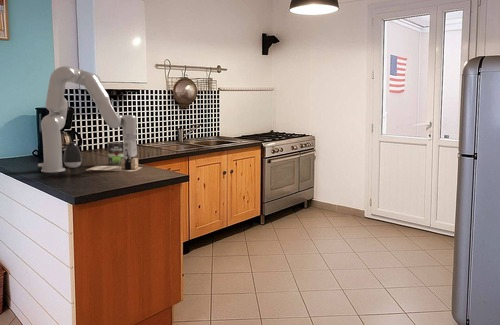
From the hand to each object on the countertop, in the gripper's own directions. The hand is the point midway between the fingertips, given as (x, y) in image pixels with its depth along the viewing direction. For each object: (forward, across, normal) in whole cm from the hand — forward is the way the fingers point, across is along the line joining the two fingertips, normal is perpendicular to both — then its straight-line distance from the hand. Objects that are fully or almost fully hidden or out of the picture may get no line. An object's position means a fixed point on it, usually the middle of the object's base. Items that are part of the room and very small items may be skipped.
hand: (129, 168), depth 258 cm
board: (+2, 0, +9) cm, 9 cm away
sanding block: (0, 0, 0) cm, 0 cm away
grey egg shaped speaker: (+2, +6, +38) cm, 38 cm away
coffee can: (+2, +19, +16) cm, 25 cm away
